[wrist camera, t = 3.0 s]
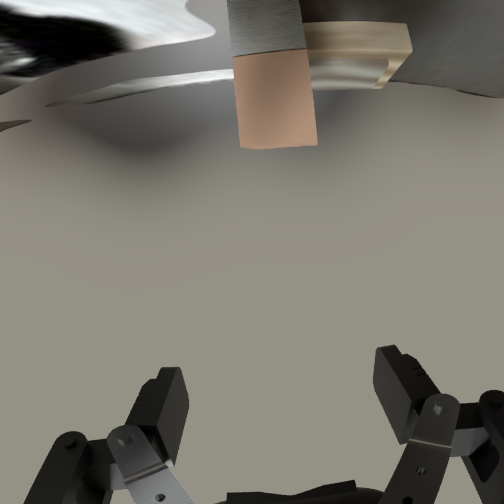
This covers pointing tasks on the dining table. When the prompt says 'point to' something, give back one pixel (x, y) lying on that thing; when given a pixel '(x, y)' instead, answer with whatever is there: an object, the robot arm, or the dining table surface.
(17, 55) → the dining table surface
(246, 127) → the tapered tan block
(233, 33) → the housing base
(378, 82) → the stand
